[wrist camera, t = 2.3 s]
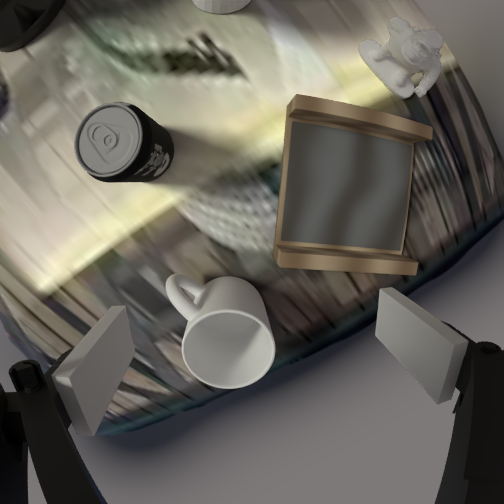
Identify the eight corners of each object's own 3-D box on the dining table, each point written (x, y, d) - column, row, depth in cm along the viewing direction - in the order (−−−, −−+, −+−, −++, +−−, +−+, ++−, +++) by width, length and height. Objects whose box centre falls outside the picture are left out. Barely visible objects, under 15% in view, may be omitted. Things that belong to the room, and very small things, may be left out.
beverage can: (153, 193, 33) (115, 199, 21) (109, 162, 32) (56, 156, 20) (186, 143, 32) (164, 123, 20) (141, 114, 31) (100, 84, 19)
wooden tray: (272, 255, 35) (279, 267, 30) (286, 105, 32) (296, 94, 27) (395, 264, 37) (415, 275, 32) (410, 132, 33) (432, 127, 28)
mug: (155, 288, 35) (130, 327, 25) (201, 237, 34) (190, 259, 24) (230, 350, 38) (232, 402, 27) (277, 305, 37) (294, 348, 27)
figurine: (343, 56, 31) (386, 14, 19) (373, 33, 30) (419, -8, 18) (393, 112, 32) (452, 91, 21) (420, 85, 32) (477, 62, 20)
